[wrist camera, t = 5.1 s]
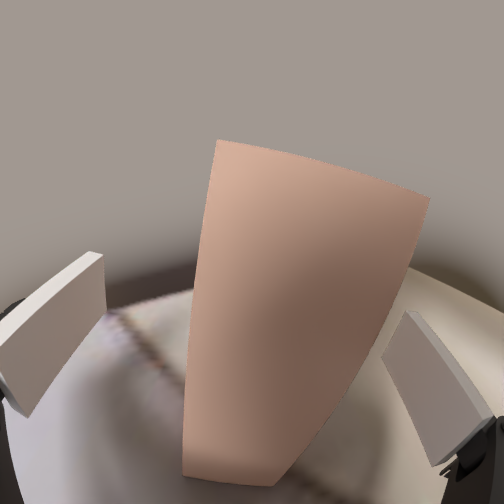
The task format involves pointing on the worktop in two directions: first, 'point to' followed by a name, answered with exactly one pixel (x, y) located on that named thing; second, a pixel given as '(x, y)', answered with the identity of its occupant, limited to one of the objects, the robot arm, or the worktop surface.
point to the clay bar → (285, 304)
